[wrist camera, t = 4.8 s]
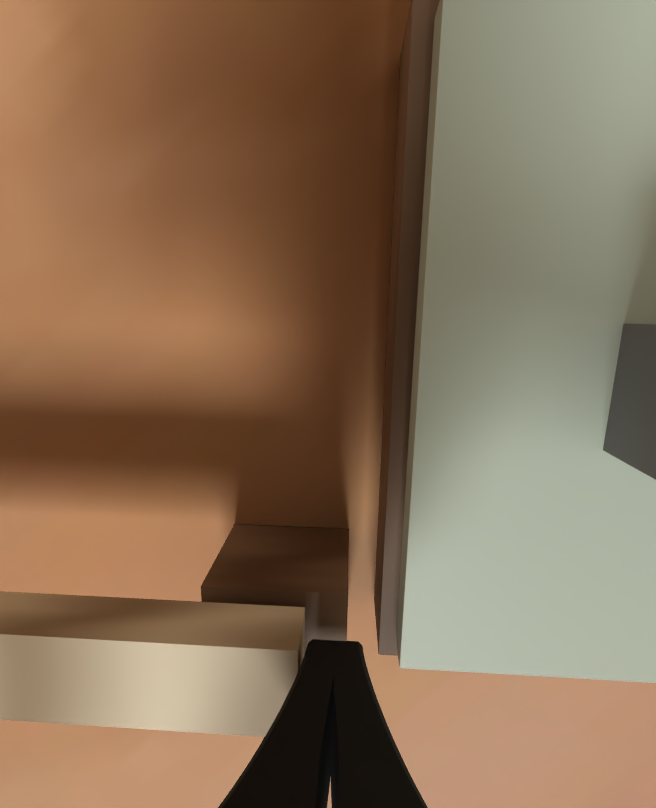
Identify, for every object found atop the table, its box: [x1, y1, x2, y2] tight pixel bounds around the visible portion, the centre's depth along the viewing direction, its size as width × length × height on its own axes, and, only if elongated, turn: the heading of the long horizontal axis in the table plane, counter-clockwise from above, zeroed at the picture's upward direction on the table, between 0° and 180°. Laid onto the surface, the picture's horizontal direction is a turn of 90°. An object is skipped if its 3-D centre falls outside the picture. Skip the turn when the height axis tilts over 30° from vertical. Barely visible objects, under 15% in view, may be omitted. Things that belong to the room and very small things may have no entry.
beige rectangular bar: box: [0, 591, 305, 737], centre depth 11 cm, size 12×2×2 cm, turn 89°
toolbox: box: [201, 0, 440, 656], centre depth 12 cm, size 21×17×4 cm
